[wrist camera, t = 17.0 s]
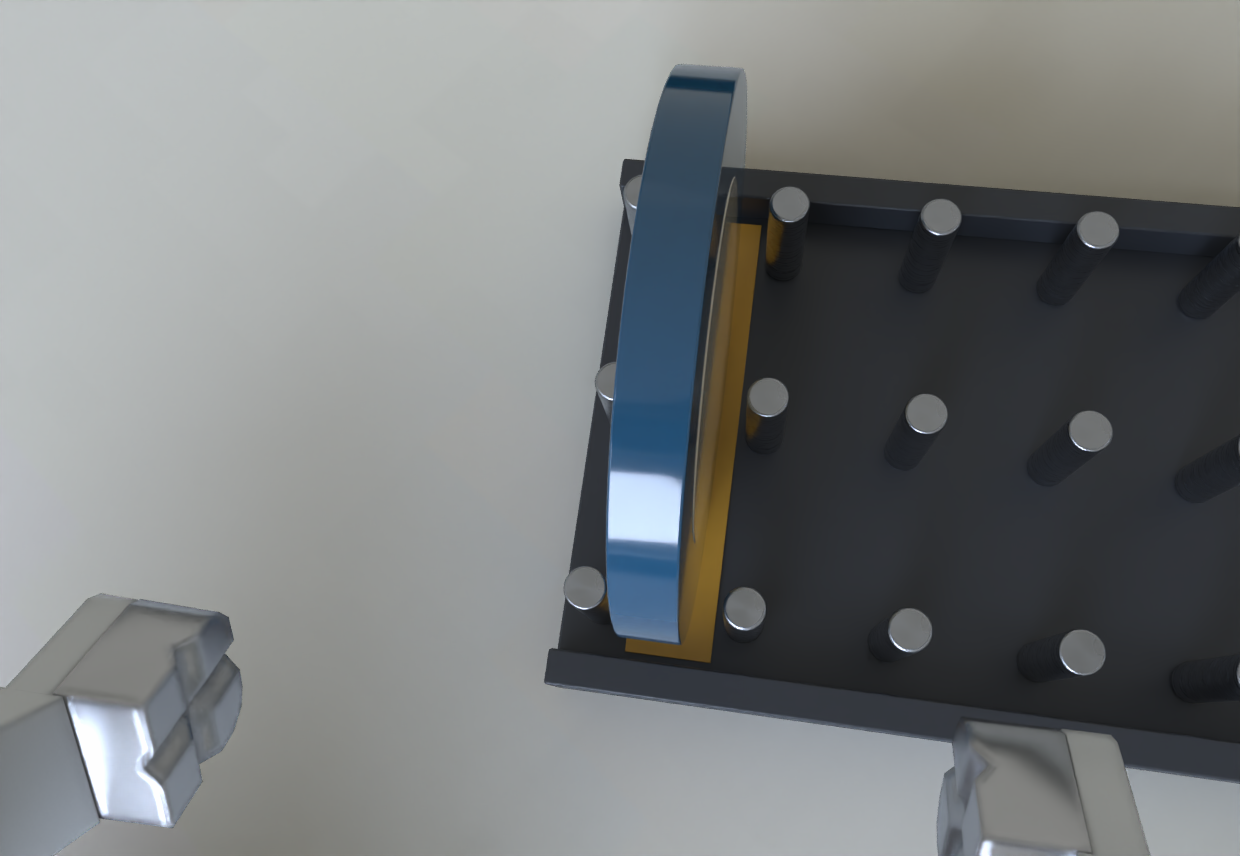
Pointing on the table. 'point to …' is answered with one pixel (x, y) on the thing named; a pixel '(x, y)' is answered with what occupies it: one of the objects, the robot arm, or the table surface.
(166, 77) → the table surface
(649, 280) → the plate
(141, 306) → the table surface
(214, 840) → the table surface
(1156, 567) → the dish rack
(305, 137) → the table surface
